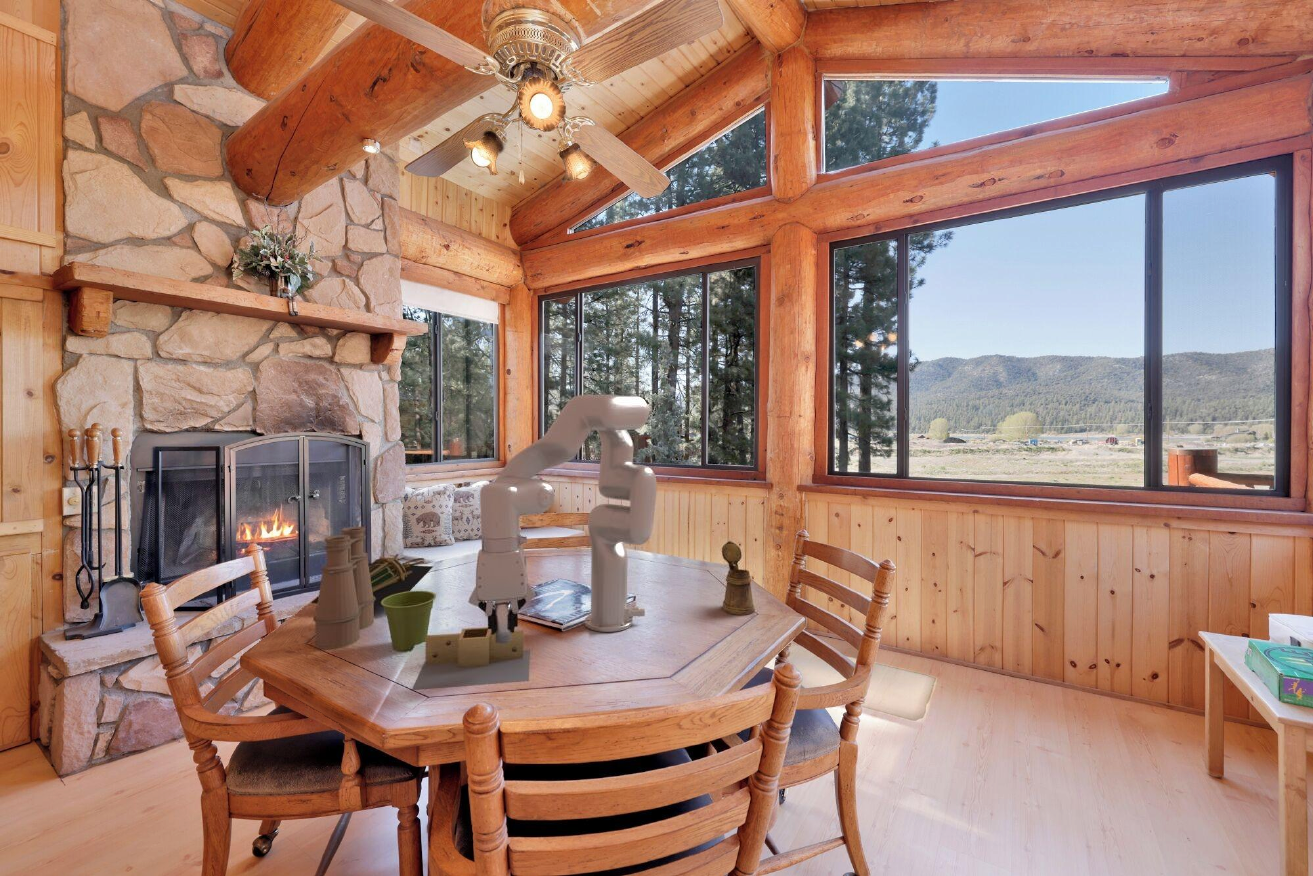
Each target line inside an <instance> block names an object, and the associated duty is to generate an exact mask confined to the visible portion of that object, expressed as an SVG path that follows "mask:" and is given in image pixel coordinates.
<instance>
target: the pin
mask: <svg viewBox="0 0 1313 876" xmlns="http://www.w3.org/2000/svg"><path fill="white" fill-rule="evenodd" d="M493 608H494V610H495V641H496V642H497V643H507V642H509V641H511V632H510V613H511V608H512V605H511V599H507V600H495V601H494V603H493Z"/></svg>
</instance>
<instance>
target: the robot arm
mask: <svg viewBox="0 0 1313 876" xmlns="http://www.w3.org/2000/svg"><path fill="white" fill-rule="evenodd" d="M649 409H650V408H649V406H648V403H647V401H646V400H645V399H644V398H643V397H641V396H639V395H617V394H616V395H615V394H579V395H576V396H574V397H572V398H570V399H569V400H568V401H567V402H566V404H565V405H564V407H563V408H562V409H561V411H560V413H559V414H558V415H557V417H556V418H555V420H554V422H553V423H552V425H551V426H550V427H549V428H548V430H547V431H546V432H545V434H544V435H543V436H542V437H541V438H540V439H538V440H536V441H534V442H533V443H531V444H530V445H529V446H527V447H526V448H524V449H522V450H521V451H519V452H518V453H517V454H515V455H514V456H513V457H511V459H510V460H509V461H508V462H507V463H506V465H505V466H504V467H503V469H501V471H500V472H499V474H498V475H497V477H496V478H495V480H494V482H493V483H489V484H485V485H483V486H482V487H481V489H480V492H479V493H480V495H479V496H480V497H479V498H480V500H479V501H480V529H481V530H480V531H481V533H480V535H481V549H479V550H478V554H477V559H476V567H475V568H476V569H475V587H474V589H473V591H472V592H471V595H470V597H469V598H468V603H469V604H470V605H473V606H475V607H478V608H479V609H480V610H481V611H483V613H485V616H487V627H488V629H491V635H494V634H495V608H494V603H495V601H498V600H510V603H511V613H510V632H511V633H514V630H516V629H515V628H518V627H519V626H518V625H519V621H518V620H519V616H518V615H519V614H518V613H519V611H520V610H521V609H522V608H524V606H525V605H526V604H527V603H529V602H530V601H533V599H535V598H536V592H535V591H534V589H533V588H532V586H531V584H530V583H529V581H528V565H527V558H526V552H525V548H524V547H523V546H522V545H523V544H527V542H528V540H527V539H528V537H527V536H523V535H521V534H520V517H521V516H528V515H529V516H530V515H531V516H532V515H533V516H534V515H540V514H543V513H544V512H545V513H546V511H548V510H549V509H550V508H551V507H552V505H553V503H554V501H555V490H554V488H553V487H552V486H551V484H550V483H549V482H548V481H545V480H543V479H540V478H539V479H538V478H533V477H535V476H537V474H539V473H541V472H543V471H545V470H547V469H551V468H553V467H556V466H560V465H563V464H565V463H567V462H569V461H571V460H573V459H574V458H575V457H576V456H577V454H578V453H579V451H580V450H581V448H582V446H583V444H584V443H585V441H586V439H588V436H589V435H590V434H591V432H593V431H596V433H597V434H598V435H599V438H600V442H601V453H600V455H601V456H600V463H599V471H598V472H599V473H598V480H597V481H598V482H597V488H598V492H599V494H600V495H601V496H602V497H604V498H606V499H611V500H619V501H627V502H628V501H629V503H630V504H629V505H623V504H616V503H615V504H612V503H602V504H598V505H596V506H595V507H593V508H592V510H591V511H590V513H589V514H588V517H587V527H588V528H587V529H588V535H589V540H590V550H591V551H590V552H591V554H590V555H591V558H590V560H591V563H590V564H591V567H590V568H591V570H590V571H591V573H590V578H591V579H590V582H591V583H590V584H591V585H590V614H589V615H587V616H586V617H585V618H584V626H585V627H586V628H587V629H590V630H593V631H596V632H602V633H614V632H620V631H623V630H626V629H628V628H630V627H631V626H632V625H633V621H634V620H633V618H634V617H639V618H641V617H645V616H646V615H645V614H646V611H645V608H639V607H638V606H633V607H630V606H629V604H628V554H627V551H626V548H625V545H633V546H642V545H645V544H646V543H647V542H648V541H649V540H650V538H651V536H652V533H653V529H654V521H655V510H656V504H657V503H656V501H657V493H658V491H657V490H658V489H657V488H658V483H657V478H656V474H655V471H654V470H653V469H652V468H651V467H650V466H647V465H643V464H634V463H633V462H634V442H633V440H632V437H631V435H630V433H629V432H628V430H632V431H633V430H639V429H641V428H642V427H644V425H646V423H647V422H648V419H649V415H650V410H649ZM624 544H625V545H624Z"/></svg>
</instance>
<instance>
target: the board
mask: <svg viewBox="0 0 1313 876" xmlns="http://www.w3.org/2000/svg"><path fill="white" fill-rule="evenodd" d="M530 653H531V649H527V650H525V649H524V650H523V658H514V659H500V660H490V663H489V666H477V667H463V668H458V663H444V664H430V665H426V660H425V661H424V663H423V665H422V667H421V669H420V672H419V674H418V676H417V678H416V680H415V682H414V684H413V687H412V688H411V691H420V690H430V689H431V690H432V689H442V688H444V689H445V688H455V687H468V686H469V687H470V686H480V685H481V686H482V685H493V684H505V683H506V684H507V683H518V682H519V683H520V682H529V680H530V660H531V659H530V658H531V654H530Z"/></svg>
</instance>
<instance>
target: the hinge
mask: <svg viewBox="0 0 1313 876" xmlns="http://www.w3.org/2000/svg"><path fill="white" fill-rule="evenodd" d="M523 651H524V629H514V633H511V641H509V642H507V643H497V642H496V641H495V634H494V635H491V629H488V626H487V627H486V626H485V627H469V628H462V629H461V631H460V633H446V634H444V633H443V634H427V635H426V642H425V661H426V665H430V664H444V663H458V668H463V667H477V666H489V663H490V660H500V659H514V658H523Z"/></svg>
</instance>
